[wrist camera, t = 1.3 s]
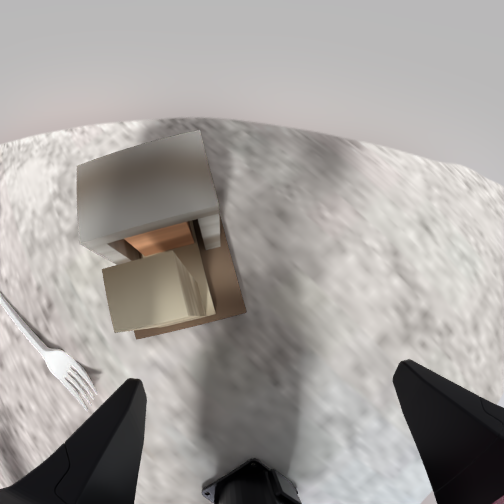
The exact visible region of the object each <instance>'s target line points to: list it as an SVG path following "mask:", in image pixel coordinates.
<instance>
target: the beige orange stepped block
mask: <svg viewBox="0 0 504 504" xmlns="http://www.w3.org/2000/svg"><path fill="white" fill-rule="evenodd" d="M125 240H126V241H127V242H128V243H130V244H131V245H132V246H133V247H134V248H136V249H137V250H138V251H139V252H140V253H142V256H143V258H141V259H138V260H134V261H130V262H127V263H123V264H119V265H116V266H112V267H108V268H105V269H102V273H103V279H104V285H105V290H106V296H107V301H108V306H109V310H110V315H111V320H112V324H113V328H114V332H115V333H116V332H125V331H133V330H140V329H148V328H155V327H158V328H160V327H165V326H169V325H173V324H178V323H182V322H186V321H190V320H194V319H198V318H202V317H206V316H210V315H214V314H216V313H215V309H214V306H213V302H212V298H211V295H210V291H209V287H208V283H207V279H206V275H205V272H204V268H203V264H202V260H201V256H200V251H199V247H198V243H197V239H196V235H195V230H194V226H193V222H192V221H188V222H184V223H180V224H176V225H172V226H168V227H165V228H161V229H157V230H153V231H150V232H146V233H143V234H139V235H135V236H132V237H128V238H125Z"/></svg>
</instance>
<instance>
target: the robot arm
mask: <svg viewBox="0 0 504 504" xmlns="http://www.w3.org/2000/svg"><path fill="white" fill-rule="evenodd" d="M393 384H394V387H395V390H396V393H397V396H398V399H399V402H400V405H401V409H402V412H403V414H404V417H405V419H406V422H407V424H408V426H409V429H410V431H411V434H412V436H413V439H414V441H415V443H416V446H417V448H418V451H419V454H420V456H421V459H422V461H423V464H424V467H425V469H426V472H427V475H428V478H429V480H430V483H431V486H432V489H433V492H434V495H435V498H436V501H437V504H504V408H503V407H501V406H498V405H496V404H494V403H492V402H490V401H488V400H486V399H484V398H482V397H479V396H478V395H476V394H474V393H472V392H470V391H468V390H466V389H465V388H463V387H461V386H459V385H457V384H455V383H453V382H451V381H449V380H448V379H446V378H444V377H442V376H440V375H438V374H436V373H435V372H433V371H431V370H429V369H427V368H425V367H423V366H422V365H420V364H418V363H416V362H414V361H412V360H410V359H408V360H404V361H401V362H400V363H399V365H398V367H397V369H396V371H395V374H394V376H393ZM146 404H147V397H146V393H145V390H144V387H143V384H142V381H141V380H140V379H133V378H129V379H127V380H126V381H125V382H124V383H123V384H122V385H121V386H120V387H119V388H118V389H117V390H116V391H115V392H114V393H113V394H112V395H111V396H110V397H109V398H108V399H107V400H106V401H105V402H104V403H103V404H102V405H101V406H100V407H99V408H98V409H97V410H96V411H95V412H94V413H93V414H92V415H91V416H90V417H89V418H88V419H87V420H86V421H85V422H84V423H83V424H82V425H81V426H80V427H79V428H78V429H77V430H76V431H75V432H74V433H73V434H72V435H71V436H70V437H69V438H68V439H67V440H66V441H65V443H63V444H62V445H61V446H60V447H59V448H58V449H57V450H56V451H55V452H54V453H53V454H52V455H51V456H50V457H49V458H48V459H46V460H45V461H44V462H43V463H41V464H40V465H39V466H38V467H36V468H35V469H34V470H32V471H31V472H30V473H28V474H27V475H26V476H24V477H23V478H22V479H20V480H19V481H18V482H16V483H15V484H13V485H11V486H9V487H6V488H3V489H0V504H134V500H135V493H136V486H137V479H138V473H139V466H140V460H141V455H142V449H143V443H144V432H145V417H146ZM252 463H256V464H255V465H251V464H252ZM205 492H209V493H205ZM297 494H298V491H297V489H296V488H294V486H293V484H292V482H291V481H289V480H288V479H287V478H285V477H284V476H283V475H281V474H280V473H279V472H277V471H276V470H274V469H271V470H270V469H269V468H267V467H266V466H265V465H264V464H262V463H261V462H260V461H259V460H257V459H250V460H249V461H247V462H246V463H244V464H243V465H241V466H240V467H238V468H237V469H235V470H234V471H232V472H230V473H229V474H227V475H226V476H224V477H222V478H221V479H219V480H217V481H216V482H214V483H212V484H211V485H209V486H207V487H205V488H204V489H203V490H202V495H203V496H204V497H205V498H207V499H208V500H210V501H211V502H212V503H214V504H302V503H301V501H300V499H299V497H298V495H297Z"/></svg>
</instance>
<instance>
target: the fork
mask: <svg viewBox="0 0 504 504" xmlns="http://www.w3.org/2000/svg"><path fill="white" fill-rule="evenodd" d="M0 304H1V305H2V307H3V308H4V310H5V311H6V312H7V314H8V315H9V316H10V318H11V319H12V320H13V322H14V323H15V324H16V326H17V327H18V328H19V329H20V331H21V332H22V333H23V334H24V336H25V337H26V338H27V339H28V340H29V342H30V343H31V344H32V345H33V346H34V347H35V349H36V350H37V351H38V352H39V353H40V354H41V355H42V357H43V358H44V360H45V362H46V364H47V366H48V368H49V370H50V371H51V372H52V374H53V375H54V376H55V377H56V378H58V379H59V380H60V382H61V383H62V384H63V385H64V386H65V387H66V388H67V389H68V390H69V391H70V392H71V393H72V394H73V395H74V397H75V398H76V399H77V400H78V401H79V402H80V404H81V405H82V406H83V407H84V408H85V410H86V411H87V412H89V410H88V408H87V406H86V404H85V403H84V401H83V399H82V398H81V396H80V395H79V393H78V392H77V391H76V389H75V388H74V387H73V386H72V385H71V384H70V383H69V382H68V381H67V380H66V379H65V377H67V378H68V379H69V380H70V381H71V382H72V384H73V385H74V386H75V387H76V388H77V389H78V390H79V391H80V393H81V394H82V395H83V397H84V398H85V399H86V401H87V402H88V403H89V405H90V406H92V404H91V402H90V400H89V398H88V396H87V395H86V393H85V392H84V390H83V389H82V388H81V386H80V385H79V384H78V382H79V383H80V384H81V385H82V386H83V387H84V389H85V390H86V391H87V392H88V394H89V395H90V396H91V398H92V399H93V400H95V398H94V396H93V394H92V393H91V391H90V389H89V388H88V386H87V385H86V383H85V382H84V381H83V379H82V378H81V377H80V376H79V375H78V374H77V373H76V372H75V371H74V370H72V369H71V368H70V366H72V367H73V368H74V369H75V370H76V371H77V372H78V373H79V374H80V375H81V376H82V377H83V378H84V379H85V381H86V382H87V383H88V384H89V386H90V387H91V388H92V390H93V391H94V392H95V394H97V391H96V388H95V386H94V384H93V382H92V381H91V379H90V377H89V375H88V374H87V372H86V371H85V369H84V368H83V367H82V366H81V365H80V364H79V363H78V362H77V361H75V360H74V359H73V358H72V357H71V356H70V355H68V354H67V353H66V352H65V351H63V350H61V349H51V348H48V347H47V346H46V345H45V344H44V343H43V342H42V341H41V340H40V339H39V338H38V337H37V335H36V334H35V333H34V332H33V331H32V330H31V329H30V328H29V327H28V325H27V324H26V323H25V322H24V321H23V320H22V318H21V317H20V316H19V315H18V314H17V313H16V311H15V310H14V309H13V308H12V307H11V306H10V304H9V303H8V302H7V301H6V299H5V298H4V297H3V296H2V294H1V293H0ZM67 371H69V372H70V373H71V374H72V375H73V376H74V377H75V378H76V379H77V380H78V382H77V381H76V380H75V379H74V378H72V377H71V376H70V375H69V374H68V373H67Z"/></svg>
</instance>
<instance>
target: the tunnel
mask: <svg viewBox="0 0 504 504" xmlns="http://www.w3.org/2000/svg"><path fill="white" fill-rule="evenodd" d="M77 216H78V232H79V244H81V245H83V246H84V247H86V248H88V249H89V250H91V251H93V252H95V253H97V254H98V255H100V256H102V257H104V258H106V259H107V260H109V261H111V262H113V263H115V264H117V265H119V264H123V263H127V262H130V261H134V260H138V259H141V258H143V256H142V253H140V252H139V251H138V250H137V249H136V248H134V247H133V246H132V245H131V244H130V243H128V242H127V241H126V240H125V238H128V237H132V236H135V235H139V234H143V233H146V232H150V231H153V230H157V229H161V228H165V227H168V226H172V225H176V224H180V223H184V222H188V221H192V222H193V226H194V230H195V235H196V239H197V243H198V247H199V251H200V256H201V260H202V264H203V268H204V272H205V275H206V279H207V283H208V287H209V291H210V295H211V298H212V302H213V306H214V309H215V313H216V314H214V315H210V316H206V317H202V318H198V319H194V320H190V321H186V322H182V323H178V324H173V325H169V326H165V327H160V328H158V327H155V328H148V329H140V330H134V333H135V337H136V339H141V338H145V337H150V336H154V335H159V334H163V333H168V332H172V331H176V330H181V329H185V328H189V327H193V326H197V325H201V324H205V323H209V322H213V321H217V320H221V319H224V318H228V317H232V316H236V315H239V314H243V313H246V308H245V305H244V301H243V298H242V294H241V290H240V287H239V283H238V280H237V276H236V273H235V269H234V265H233V262H232V258H231V254H230V251H229V247H228V243H227V240H226V236H225V232H224V228H223V225H222V221H221V217H220V213H219V202H218V199H217V195H216V191H215V187H214V183H213V179H212V176H211V172H210V168H209V164H208V160H207V156H206V152H205V148H204V144H203V140H202V136H201V132H200V130H196V131H192V132H187V133H183V134H179V135H174V136H170V137H166V138H163V139H159V140H155V141H151V142H148V143H144V144H141V145H137V146H134V147H131V148H127V149H124V150H121V151H118V152H115V153H112V154H109V155H106V156H103V157H100V158H97V159H94V160H92V161H89V162H86V163H84V164H81V165H78V166H77Z"/></svg>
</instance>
